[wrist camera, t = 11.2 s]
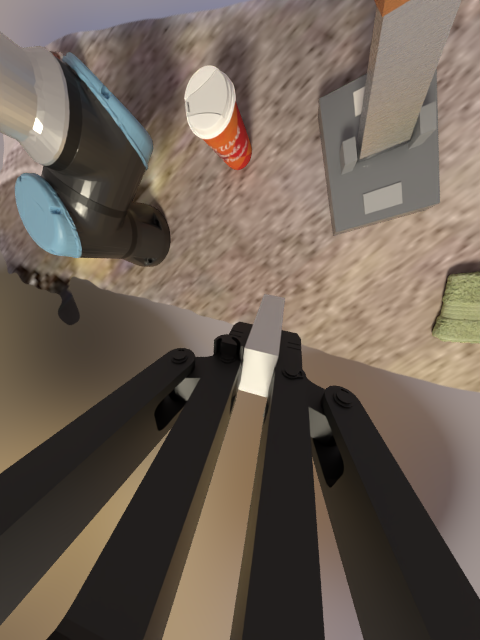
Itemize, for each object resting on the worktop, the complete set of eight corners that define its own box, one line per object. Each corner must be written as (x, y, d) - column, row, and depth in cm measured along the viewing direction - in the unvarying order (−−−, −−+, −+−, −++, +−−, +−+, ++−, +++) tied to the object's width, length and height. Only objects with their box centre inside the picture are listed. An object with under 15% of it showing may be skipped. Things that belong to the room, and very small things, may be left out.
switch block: (424, 210, 32) (456, 195, 25) (333, 235, 37) (338, 228, 30) (419, 66, 28) (454, 3, 21) (317, 117, 33) (320, 79, 27)
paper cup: (223, 180, 41) (185, 141, 28) (219, 137, 39) (176, 75, 26) (259, 170, 38) (235, 121, 26) (256, 124, 36) (228, 47, 24)
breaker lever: (408, 149, 27) (504, -103, 13) (357, 168, 29) (389, -25, 15) (402, 134, 28) (486, -117, 14) (353, 154, 30) (379, -42, 16)
